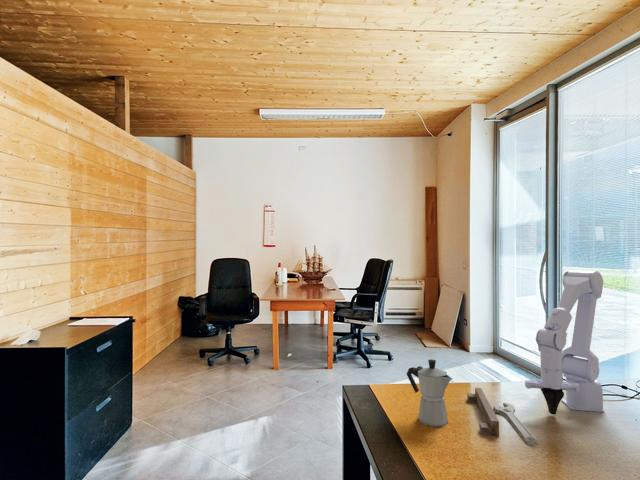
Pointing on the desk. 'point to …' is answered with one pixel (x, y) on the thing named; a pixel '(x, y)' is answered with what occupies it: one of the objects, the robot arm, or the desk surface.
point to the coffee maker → (431, 393)
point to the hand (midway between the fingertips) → (552, 413)
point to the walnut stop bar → (485, 413)
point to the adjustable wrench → (515, 422)
